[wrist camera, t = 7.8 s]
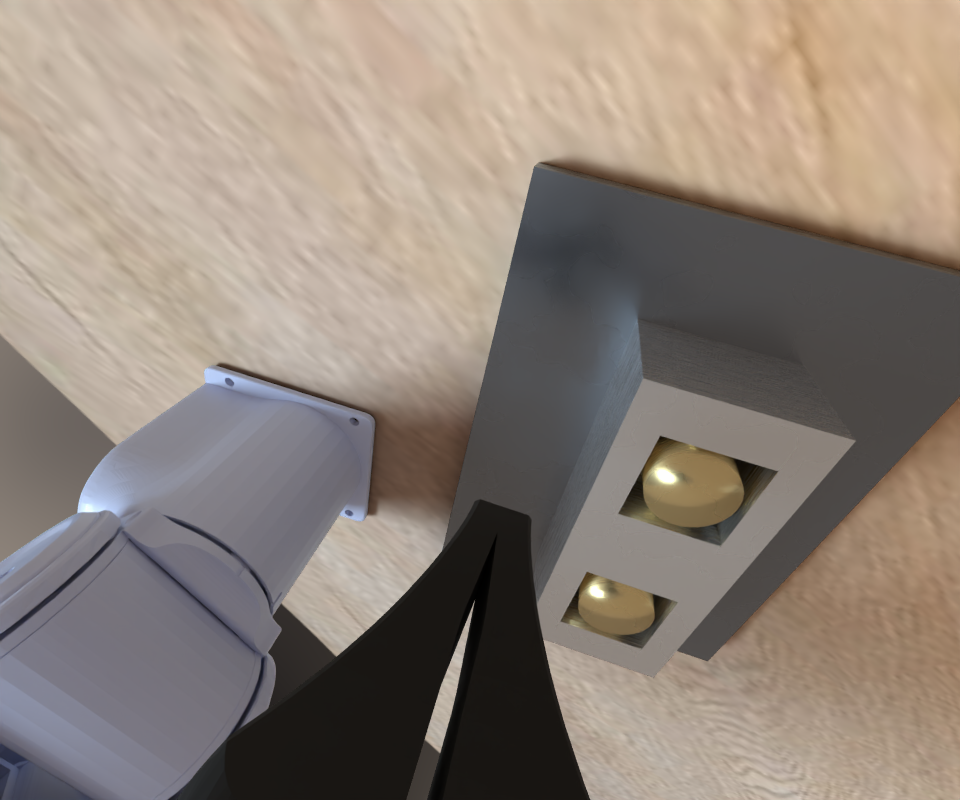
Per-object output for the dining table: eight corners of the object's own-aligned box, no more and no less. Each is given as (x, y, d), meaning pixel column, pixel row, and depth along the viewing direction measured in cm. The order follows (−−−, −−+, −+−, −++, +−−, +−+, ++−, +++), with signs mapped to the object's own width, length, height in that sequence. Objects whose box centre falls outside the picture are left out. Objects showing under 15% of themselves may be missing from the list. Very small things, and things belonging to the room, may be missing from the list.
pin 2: (627, 435, 20) (629, 510, 16) (655, 376, 18) (665, 445, 15) (698, 457, 20) (716, 538, 16) (734, 399, 18) (763, 475, 14)
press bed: (443, 553, 29) (437, 569, 28) (538, 162, 17) (534, 166, 16) (704, 641, 28) (707, 661, 27) (1023, 287, 15) (1050, 300, 14)
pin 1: (576, 540, 24) (569, 619, 20) (595, 500, 22) (591, 578, 19) (634, 560, 24) (637, 643, 20) (658, 520, 22) (667, 603, 18)
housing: (537, 554, 25) (523, 632, 22) (637, 318, 17) (643, 378, 14) (648, 591, 25) (653, 677, 21) (803, 365, 17) (856, 440, 13)
